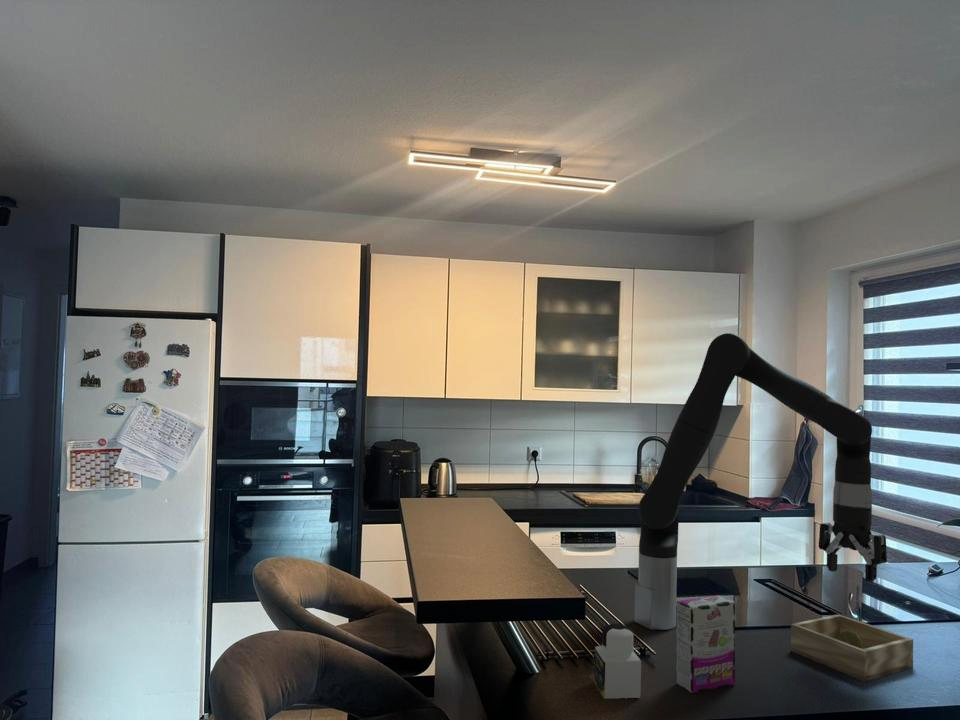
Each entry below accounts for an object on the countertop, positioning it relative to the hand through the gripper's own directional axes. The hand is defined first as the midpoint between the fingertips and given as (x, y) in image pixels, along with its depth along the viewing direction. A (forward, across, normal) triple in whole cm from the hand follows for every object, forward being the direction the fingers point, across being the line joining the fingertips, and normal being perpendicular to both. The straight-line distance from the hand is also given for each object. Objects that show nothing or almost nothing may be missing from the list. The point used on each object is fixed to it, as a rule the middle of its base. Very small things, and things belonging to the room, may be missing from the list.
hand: (850, 576), depth 146 cm
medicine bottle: (+19, -9, -58) cm, 61 cm away
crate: (+18, 0, 0) cm, 18 cm away
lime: (+17, 0, 0) cm, 17 cm away
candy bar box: (+19, -4, -40) cm, 44 cm away
